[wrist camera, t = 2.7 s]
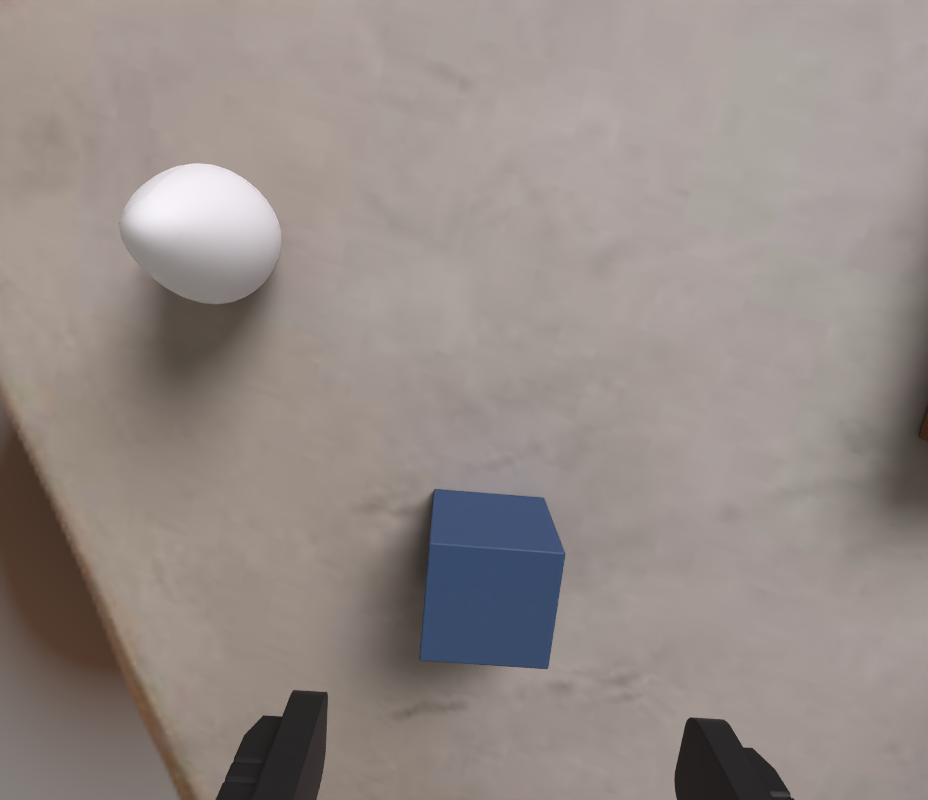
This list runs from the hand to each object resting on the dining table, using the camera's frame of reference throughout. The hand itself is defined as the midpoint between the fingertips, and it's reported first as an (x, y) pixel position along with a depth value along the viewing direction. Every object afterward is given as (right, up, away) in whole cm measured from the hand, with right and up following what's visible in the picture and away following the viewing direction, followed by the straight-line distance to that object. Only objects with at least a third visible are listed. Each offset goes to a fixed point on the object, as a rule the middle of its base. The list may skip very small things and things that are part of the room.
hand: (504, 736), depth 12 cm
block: (0, +2, +8) cm, 9 cm away
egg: (-8, +13, +6) cm, 16 cm away
